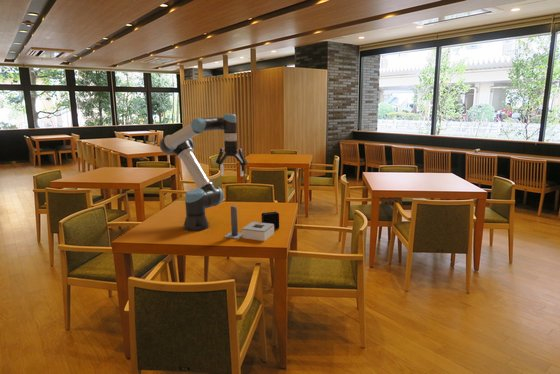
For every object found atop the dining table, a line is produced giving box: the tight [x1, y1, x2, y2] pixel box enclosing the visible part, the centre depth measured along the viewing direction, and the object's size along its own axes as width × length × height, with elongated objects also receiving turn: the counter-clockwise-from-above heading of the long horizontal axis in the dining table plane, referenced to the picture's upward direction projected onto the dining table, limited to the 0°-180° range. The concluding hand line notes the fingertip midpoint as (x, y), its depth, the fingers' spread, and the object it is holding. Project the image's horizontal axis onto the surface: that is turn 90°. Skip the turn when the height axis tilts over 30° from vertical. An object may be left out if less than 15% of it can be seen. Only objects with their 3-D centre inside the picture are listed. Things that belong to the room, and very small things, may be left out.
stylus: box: [230, 205, 239, 236], centre depth 221 cm, size 4×4×17 cm
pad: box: [223, 231, 242, 240], centre depth 223 cm, size 9×9×1 cm
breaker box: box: [241, 221, 275, 242], centre depth 223 cm, size 14×14×6 cm
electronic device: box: [261, 211, 280, 230], centre depth 235 cm, size 4×10×10 cm, turn 111°
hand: (231, 175), depth 232 cm, fingers open, 13 cm apart
